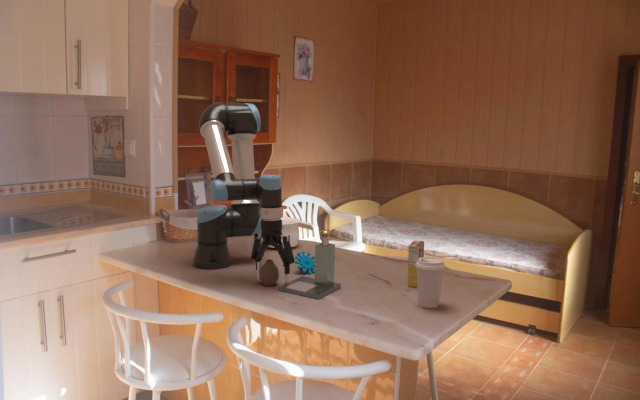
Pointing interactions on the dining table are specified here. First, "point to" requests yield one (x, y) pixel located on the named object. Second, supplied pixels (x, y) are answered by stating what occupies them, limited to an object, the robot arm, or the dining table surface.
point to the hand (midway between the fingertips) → (272, 281)
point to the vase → (269, 273)
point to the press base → (316, 276)
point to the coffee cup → (429, 281)
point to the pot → (289, 230)
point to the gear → (305, 262)
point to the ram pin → (325, 237)
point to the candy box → (414, 261)
